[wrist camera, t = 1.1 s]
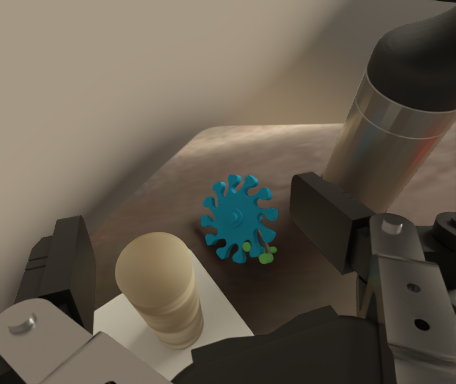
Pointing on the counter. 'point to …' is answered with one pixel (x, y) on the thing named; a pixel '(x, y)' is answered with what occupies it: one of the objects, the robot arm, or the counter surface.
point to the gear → (240, 220)
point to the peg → (162, 287)
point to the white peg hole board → (151, 345)
